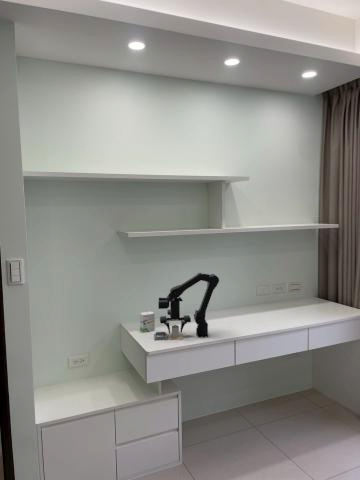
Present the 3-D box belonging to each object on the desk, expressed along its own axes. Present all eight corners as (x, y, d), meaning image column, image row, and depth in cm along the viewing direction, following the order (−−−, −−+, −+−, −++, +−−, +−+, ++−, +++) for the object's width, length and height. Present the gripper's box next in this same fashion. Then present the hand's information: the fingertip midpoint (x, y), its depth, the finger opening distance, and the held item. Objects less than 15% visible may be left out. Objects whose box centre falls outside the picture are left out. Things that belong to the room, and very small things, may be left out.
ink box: (142, 332, 237) (142, 314, 236) (140, 330, 241) (139, 312, 240) (155, 330, 241) (154, 312, 240) (152, 328, 245) (151, 311, 244)
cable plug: (178, 334, 231) (178, 323, 231) (179, 337, 226) (178, 326, 226) (171, 335, 231) (171, 324, 230) (172, 337, 226) (172, 326, 225)
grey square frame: (166, 334, 233) (166, 331, 232) (167, 339, 224) (167, 336, 224) (154, 335, 232) (154, 332, 232) (154, 340, 223) (154, 337, 223)
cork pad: (181, 333, 234) (181, 333, 234) (183, 339, 225) (183, 338, 225) (167, 334, 233) (167, 334, 233) (168, 339, 224) (168, 339, 224)
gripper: (188, 304, 236) (188, 327, 237) (159, 305, 234) (159, 329, 236) (190, 308, 225) (190, 333, 226) (160, 310, 223) (160, 335, 224)
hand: (175, 332), depth 228 cm, fingers open, 7 cm apart
